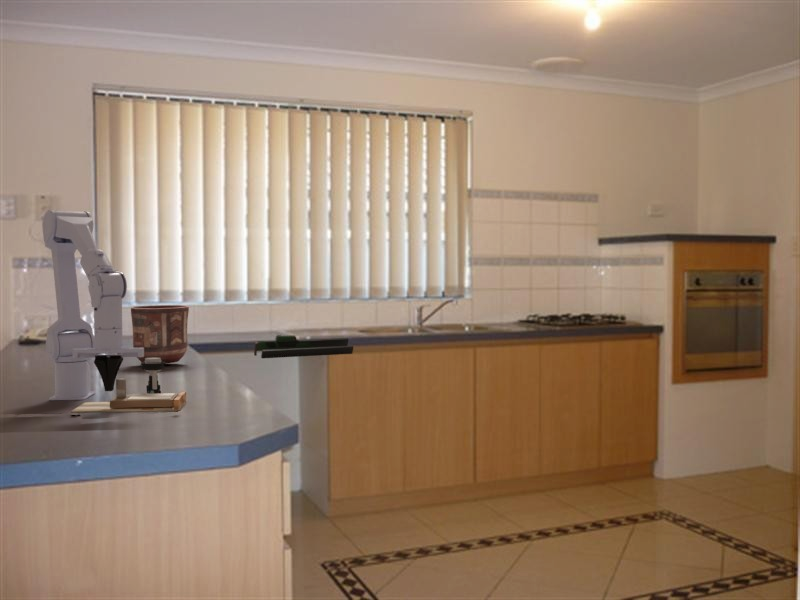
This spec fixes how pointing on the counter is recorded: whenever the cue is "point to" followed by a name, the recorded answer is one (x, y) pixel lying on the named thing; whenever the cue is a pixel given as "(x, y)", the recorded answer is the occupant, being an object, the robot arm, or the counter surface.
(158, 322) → the pottery
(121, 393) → the carriage
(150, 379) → the push button
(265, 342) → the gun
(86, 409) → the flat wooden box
